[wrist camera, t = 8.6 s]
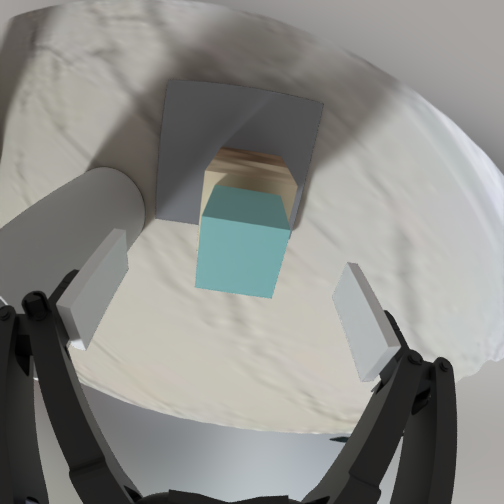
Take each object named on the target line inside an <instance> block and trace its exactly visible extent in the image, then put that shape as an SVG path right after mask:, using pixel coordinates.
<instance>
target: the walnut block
mask: <svg viewBox="0 0 504 504" xmlns="http://www.w3.org/2000/svg"><path fill="white" fill-rule="evenodd" d="M215 156H221V157H227V158H234V159H240V160H247V161H252V162H258V163H264V164H269V165H275V166H280V167H285V168H287V166H286V164H285V162H284V161H283V159H282V157H281V156H276V155H270V154H265V153H259V152H254V151H248V150H242V149H235V148H229V147H221V148H220V149H219V151H218V152H217V154H216V155H215Z"/></svg>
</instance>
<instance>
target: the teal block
mask: <svg viewBox="0 0 504 504" xmlns="http://www.w3.org/2000/svg"><path fill="white" fill-rule="evenodd" d="M290 232H291V229H290V226H289V222H288V219H287V216H286V212H285V209H284V206H283V202H282V199H281V196H280V195H275V194H269V193H264V192H258V191H252V190H246V189H240V188H234V187H228V186H221V185H215V186H214V188H213V190H212V192H211V195H210V197H209V200H208V202H207V204H206V207H205V209H204V211H203V214H202V217H201V226H200V236H199V247H198V258H197V270H196V283H195V287H196V288H202V289H208V290H215V291H221V292H228V293H235V294H242V295H249V296H256V297H264V298H272V295H273V292H274V288H275V285H276V282H277V278H278V275H279V271H280V268H281V264H282V261H283V257H284V254H285V250H286V246H287V243H288V239H289V236H290Z"/></svg>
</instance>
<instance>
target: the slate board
mask: <svg viewBox="0 0 504 504" xmlns="http://www.w3.org/2000/svg"><path fill="white" fill-rule="evenodd" d="M323 105H324V104H323V103H320V102H316V101H312V100H308V99H304V98H300V97H296V96H292V95H287V94H283V93H278V92H273V91H268V90H263V89H257V88H251V87H244V86H238V85H230V84H222V83H213V82H202V81H188V80H168V83H167V90H166V96H165V103H164V110H163V118H162V127H161V136H160V146H159V157H158V171H157V187H156V213H155V219H162V220H169V221H176V222H182V223H189V224H196V225H199V219H200V209H201V200H202V191H203V183H204V175H205V170H206V168H207V167H208V165H209V164H210V163H211V161H212V160H213V158H214V157H215V155H216V154H217V152H218V151H219V149H220V148H221V147H229V148H235V149H242V150H248V151H254V152H259V153H265V154H270V155H276V156H281V157H282V159H283V161H284V162H285V164H286V166H287V168H288V169H289V171H290V173H291V175H292V176H293V178H294V180H295V182H296V184H297V186H298V187H297V191H296V195H295V199H294V203H293V207H292V211H291V215H290V219H289V226H290V229H291V232H290V236H291V233H292V229H293V226H294V222H295V218H296V214H297V211H298V207H299V203H300V199H301V195H302V192H303V188H304V184H305V180H306V176H307V172H308V168H309V164H310V160H311V156H312V152H313V148H314V144H315V139H316V135H317V131H318V127H319V122H320V118H321V114H322V109H323ZM290 236H289V239H290Z"/></svg>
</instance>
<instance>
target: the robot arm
mask: <svg viewBox="0 0 504 504" xmlns="http://www.w3.org/2000/svg"><path fill="white" fill-rule="evenodd" d="M127 271H128V258H127V244H126V230H122V229H115V228H114V229H113V230H112V231H111V233H110V234H109V235H108V236H107V237H106V238H105V240H104V241H103V242H102V243H101V244H100V246H99V247H98V248H97V249H96V251H95V252H94V253H93V254H92V256H91V257H90V258H89V259H88V261H87V262H86V263H85V264H84V266H83V267H82V268H81V270H76V269H74V270H72V271H71V272H69V273H68V274H66V276H65V277H64V278H63V280H62V282H60V283H59V285H58V287H56V289H55V290H54V292H53V293H52V294H51V296H50V297H49V298H48V299H47V297H46V294H45V293H44V292H42V291H38V290H37V291H32V292H30V293H28V294H27V295H25V296H24V298H23V299H22V303H21V305H22V308H23V310H24V312H25V314H17V313H16V311H15V309H14V307H13V306H11V305H5V306H2V307H1V308H0V504H49V500H48V493H47V489H46V484H45V480H44V475H43V470H42V466H41V460H40V455H39V448H38V442H37V433H36V424H35V411H34V363H35V368H36V373H37V377H38V381H39V385H40V389H41V393H42V396H43V400H44V403H45V406H46V409H47V412H48V416H49V419H50V421H51V424H52V427H53V430H54V432H55V435H56V438H57V440H58V443H59V445H60V448H61V450H62V452H63V455H64V457H65V459H66V461H67V463H68V466H69V469H70V471H69V477H70V480H71V482H72V484H73V486H74V488H75V490H76V492H77V493H78V495H79V497H80V499H81V500H82V502H83V504H377V502H378V500H379V498H380V496H381V490H380V489H379V484H380V482H381V480H382V478H383V477H384V474H385V472H386V471H387V468H388V466H389V464H390V462H391V460H392V458H393V455H394V453H395V451H396V448H397V446H398V443H399V441H400V439H401V436H402V434H403V431H404V437H403V444H402V450H401V457H400V462H399V467H398V472H397V476H396V481H395V485H394V490H393V493H392V497H391V501H390V504H451V501H452V494H453V487H454V479H455V469H456V453H457V409H456V393H455V382H454V373H453V367H452V365H451V363H450V362H449V361H448V360H447V359H445V358H443V357H438V358H437V359H436V360H435V361H434V362H433V363H431V362H427V361H424V360H423V358H422V356H421V355H420V354H419V353H418V352H417V351H414V350H411V349H409V347H408V345H407V343H406V341H405V339H404V337H403V335H402V333H401V331H400V329H399V327H398V325H397V323H396V321H395V319H394V317H393V316H392V315H391V314H390V313H389V312H388V311H387V310H383V309H382V307H381V305H380V303H379V301H378V299H377V297H376V296H375V294H374V292H373V290H372V288H371V286H370V285H369V283H368V281H367V279H366V277H365V276H364V274H363V272H362V270H361V269H360V267H359V265H358V264H356V263H349V262H347V263H346V266H345V268H344V270H343V273H342V275H341V278H340V280H339V282H338V285H337V287H336V289H335V291H334V294H333V296H332V298H333V301H334V304H335V306H336V309H337V312H338V315H339V318H340V320H341V323H342V326H343V329H344V332H345V335H346V338H347V341H348V344H349V347H350V350H351V353H352V356H353V359H354V362H355V365H356V368H357V371H358V374H359V378H360V381H361V382H366V381H374V379H375V378H376V377H377V376H378V375H380V378H381V380H380V382H379V383H378V384H377V385H376V386H375V387H374V388H373V389H372V390H371V392H373V391H374V390H375V391H374V393H373V395H372V397H371V399H370V401H369V403H368V405H367V407H366V409H365V411H364V413H363V414H362V416H361V418H360V420H359V422H358V424H357V425H356V427H355V429H354V431H353V432H352V434H351V436H350V437H349V439H348V441H347V442H346V444H345V446H344V447H343V449H342V451H341V453H340V454H339V455H338V457H337V458H336V460H335V461H334V463H333V464H332V466H331V467H330V469H329V470H328V472H327V473H326V474H325V476H324V477H323V479H322V480H321V481H320V483H319V484H318V485H317V486H316V487H315V488H314V489H313V490H312V491H311V492H309V493H308V494H307V495H306V496H305V498H304V499H303V500H302V501H301V502H299V501H296V500H292V499H288V495H285V496H266V497H256V498H252V499H247V500H242V501H237V502H225V501H221V500H217V499H214V498H211V497H207V496H204V495H201V494H197V493H188V492H182V491H176V490H169V492H163V493H156V494H152V495H149V496H146V497H144V498H143V496H142V495H141V493H140V492H139V491H138V490H137V488H136V486H135V485H134V484H133V482H132V481H131V480H130V479H129V477H128V476H127V475H126V474H125V472H124V471H123V469H122V468H121V466H120V464H119V463H118V461H117V459H116V458H115V456H114V454H113V452H112V451H111V449H110V447H109V445H108V443H107V442H106V440H105V438H104V436H103V434H102V432H101V430H100V428H99V426H98V424H97V422H96V420H95V418H94V416H93V413H92V411H91V409H90V407H89V404H88V402H87V400H86V397H85V395H84V393H83V390H82V388H81V385H80V382H79V380H78V377H77V374H76V372H75V369H74V366H73V363H72V360H71V357H70V354H69V351H68V348H67V346H66V345H67V343H68V341H69V339H70V342H71V344H72V346H73V347H75V348H78V349H81V350H84V351H86V350H87V348H88V346H89V344H90V341H91V339H92V337H93V335H94V333H95V331H96V329H97V327H98V325H99V323H100V321H101V319H102V317H103V315H104V313H105V311H106V309H107V307H108V305H109V303H110V302H111V300H112V298H113V296H114V294H115V292H116V290H117V289H118V287H119V285H120V283H121V281H122V280H123V278H124V276H125V274H126V273H127Z"/></svg>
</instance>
